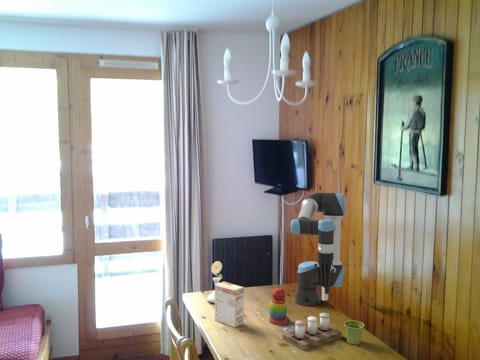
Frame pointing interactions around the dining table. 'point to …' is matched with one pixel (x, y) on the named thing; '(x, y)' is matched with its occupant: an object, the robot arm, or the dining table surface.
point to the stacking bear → (278, 307)
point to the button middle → (312, 325)
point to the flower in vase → (215, 269)
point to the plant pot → (353, 331)
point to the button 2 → (324, 321)
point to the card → (288, 328)
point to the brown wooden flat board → (312, 341)
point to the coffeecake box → (229, 304)
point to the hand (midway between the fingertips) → (324, 299)
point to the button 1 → (300, 328)
